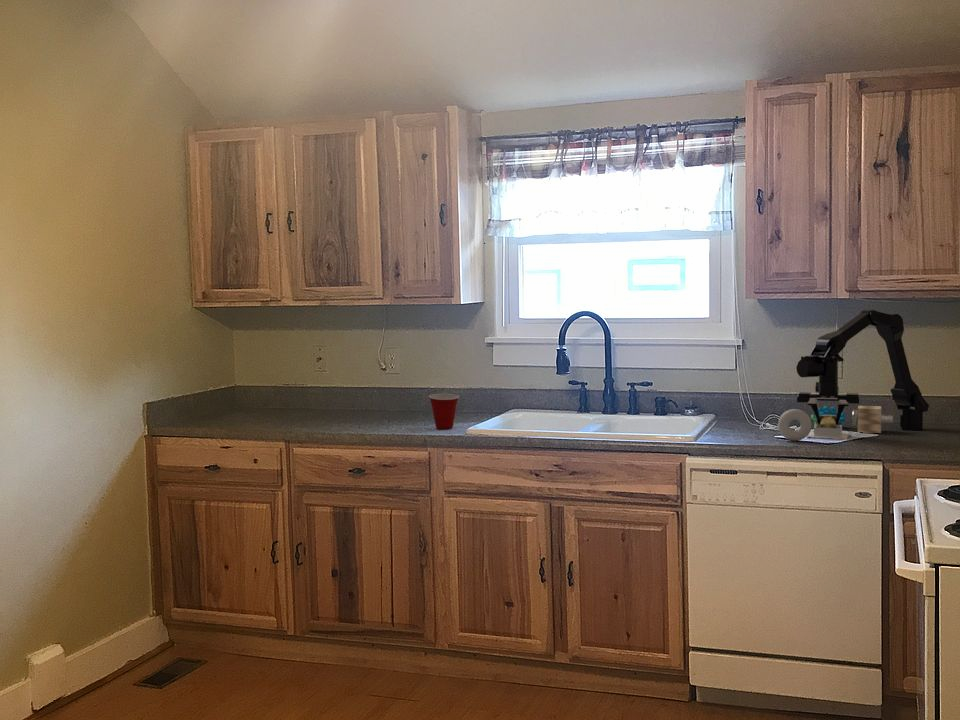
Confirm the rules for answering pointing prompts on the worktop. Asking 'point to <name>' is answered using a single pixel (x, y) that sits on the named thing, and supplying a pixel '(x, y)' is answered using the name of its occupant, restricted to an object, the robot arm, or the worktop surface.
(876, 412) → the bearing block
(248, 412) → the worktop surface
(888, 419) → the shaft
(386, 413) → the worktop surface
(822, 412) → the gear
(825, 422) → the cylinder
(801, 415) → the donut
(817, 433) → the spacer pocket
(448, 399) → the plastic cup
